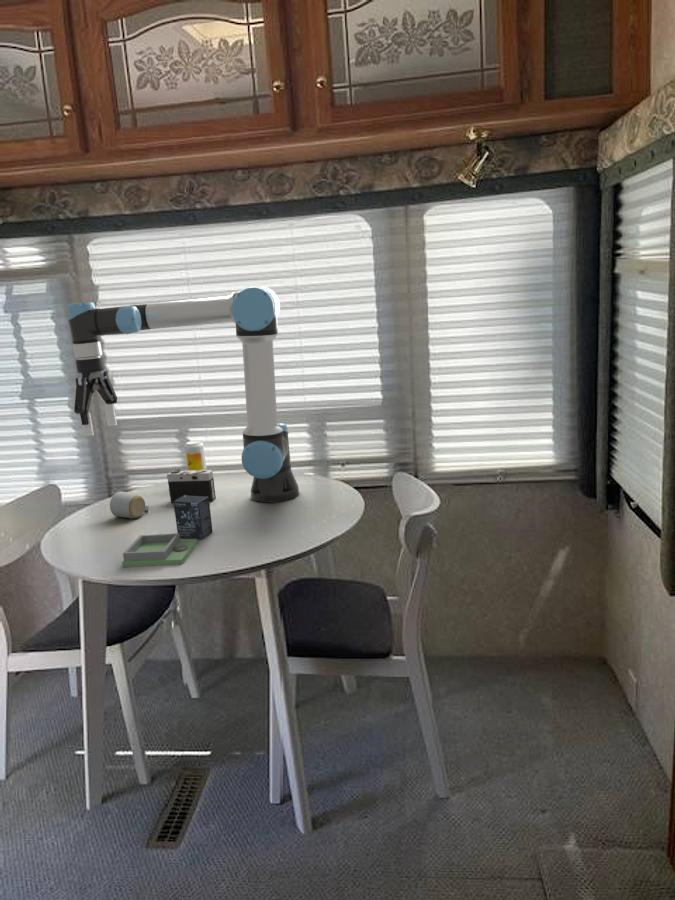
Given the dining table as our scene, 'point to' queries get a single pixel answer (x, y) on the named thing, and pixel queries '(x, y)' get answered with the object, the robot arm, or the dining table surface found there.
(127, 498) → the ceramic mug
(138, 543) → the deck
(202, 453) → the white and yellow cylinder
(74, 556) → the dining table surface
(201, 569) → the dining table surface
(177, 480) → the camera
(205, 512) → the box
